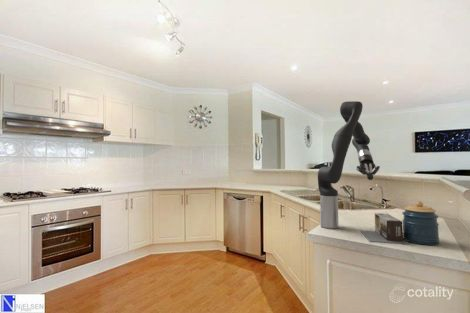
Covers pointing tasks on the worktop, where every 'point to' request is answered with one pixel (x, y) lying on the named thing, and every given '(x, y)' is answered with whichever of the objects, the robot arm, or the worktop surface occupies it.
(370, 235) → the charcoal mat
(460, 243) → the worktop surface
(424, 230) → the canister
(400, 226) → the coffee box
